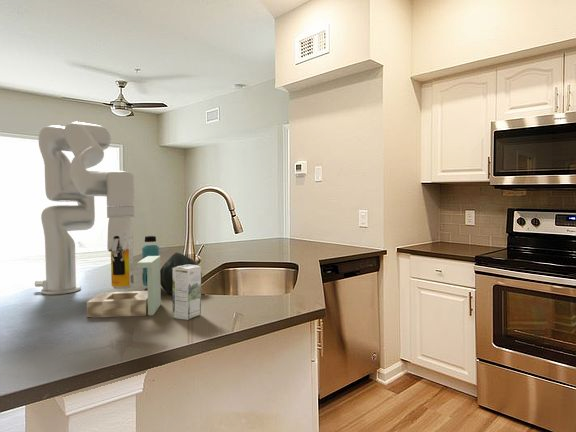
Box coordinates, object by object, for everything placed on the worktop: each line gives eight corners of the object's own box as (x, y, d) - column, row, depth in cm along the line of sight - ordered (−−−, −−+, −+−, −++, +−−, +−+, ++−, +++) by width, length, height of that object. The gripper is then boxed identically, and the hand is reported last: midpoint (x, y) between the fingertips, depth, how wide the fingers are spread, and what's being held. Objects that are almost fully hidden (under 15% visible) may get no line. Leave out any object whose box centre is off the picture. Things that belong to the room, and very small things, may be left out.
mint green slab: (137, 316, 111) (136, 262, 111) (148, 304, 125) (147, 256, 125) (152, 316, 112) (151, 262, 111) (161, 303, 126) (160, 255, 125)
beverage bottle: (163, 286, 151) (162, 235, 151) (155, 290, 145) (154, 236, 144) (147, 286, 152) (146, 235, 151) (138, 290, 145) (138, 236, 145)
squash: (201, 281, 134) (200, 245, 143) (155, 285, 131) (157, 248, 140) (203, 301, 145) (201, 266, 154) (161, 305, 142) (162, 269, 151)
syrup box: (185, 312, 115) (185, 263, 115) (201, 315, 113) (201, 265, 112) (172, 318, 110) (171, 266, 109) (188, 320, 107) (188, 268, 107)
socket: (87, 317, 110) (86, 302, 110) (101, 306, 122) (101, 292, 122) (145, 315, 113) (145, 299, 112) (154, 304, 125) (154, 290, 124)
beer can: (115, 285, 120) (114, 236, 119) (136, 285, 120) (135, 236, 120) (108, 289, 114) (107, 238, 113) (130, 289, 114) (128, 238, 114)
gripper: (116, 212, 125) (117, 268, 125) (97, 213, 107) (99, 278, 108) (140, 212, 126) (142, 267, 126) (126, 213, 108) (127, 277, 109)
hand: (122, 272), depth 117 cm, fingers closed on beer can, 6 cm apart
